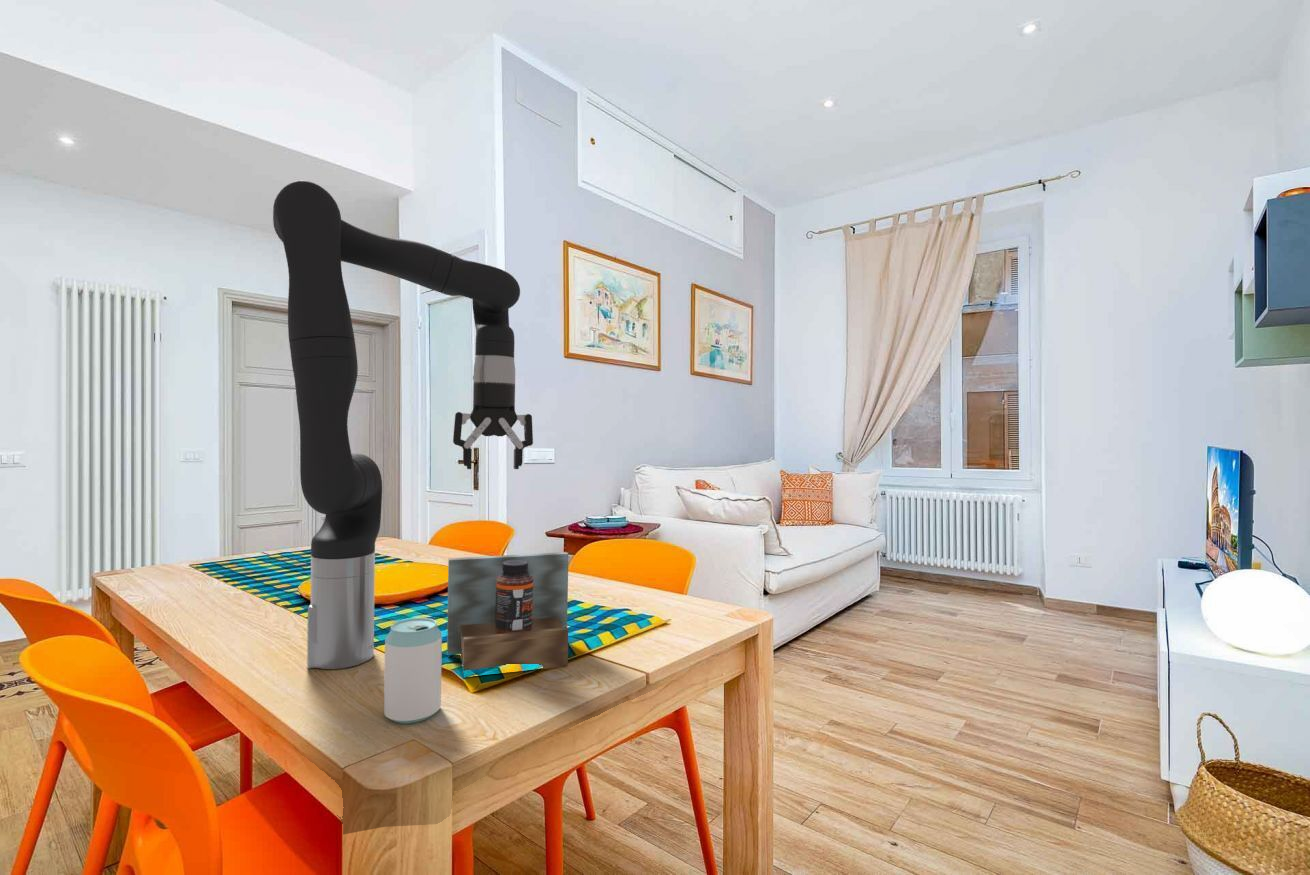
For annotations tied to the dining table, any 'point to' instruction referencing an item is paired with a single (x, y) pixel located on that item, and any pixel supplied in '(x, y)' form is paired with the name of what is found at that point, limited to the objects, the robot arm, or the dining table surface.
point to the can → (412, 670)
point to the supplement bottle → (514, 598)
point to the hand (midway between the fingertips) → (493, 468)
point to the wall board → (477, 608)
